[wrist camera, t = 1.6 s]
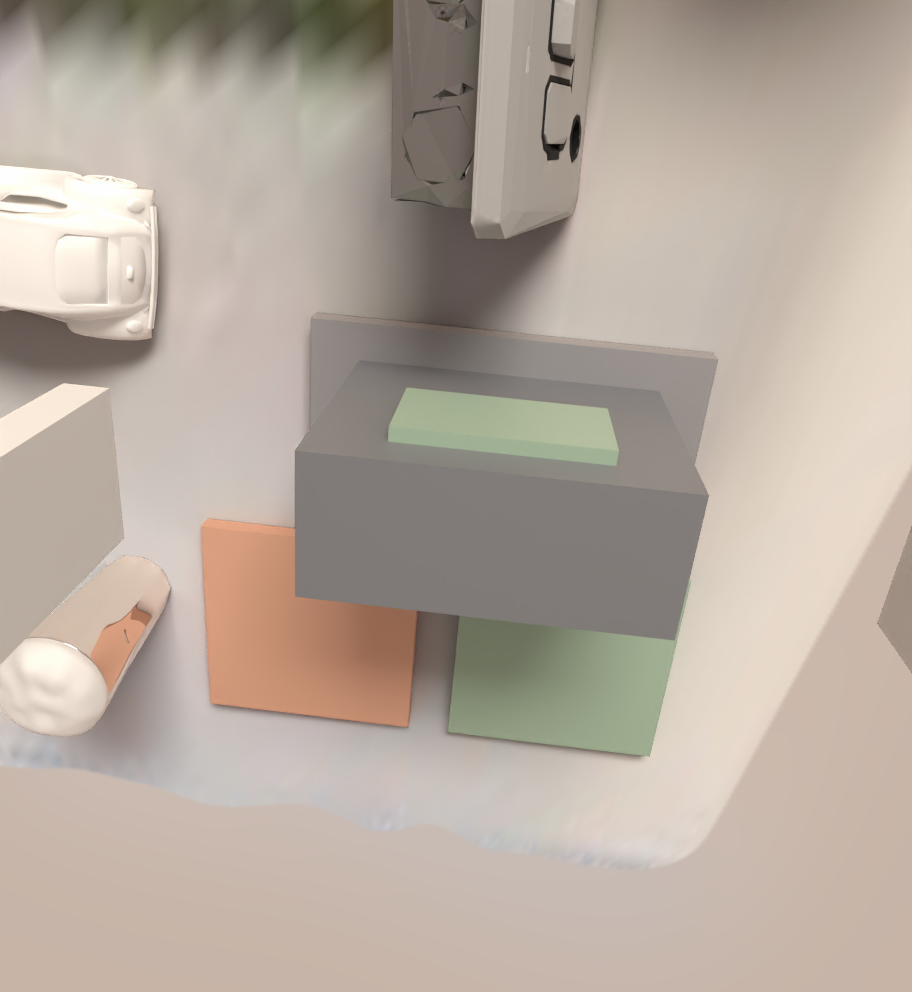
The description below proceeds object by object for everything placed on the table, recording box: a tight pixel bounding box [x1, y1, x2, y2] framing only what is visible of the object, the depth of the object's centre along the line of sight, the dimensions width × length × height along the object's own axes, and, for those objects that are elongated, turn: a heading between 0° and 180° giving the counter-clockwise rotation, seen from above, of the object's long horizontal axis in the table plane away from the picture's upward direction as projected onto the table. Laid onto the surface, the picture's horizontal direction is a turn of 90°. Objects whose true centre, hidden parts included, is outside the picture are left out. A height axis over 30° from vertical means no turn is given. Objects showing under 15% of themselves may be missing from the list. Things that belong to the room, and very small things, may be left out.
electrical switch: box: [391, 0, 598, 239], centre depth 25 cm, size 9×5×9 cm, turn 177°
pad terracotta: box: [201, 519, 418, 727], centre depth 39 cm, size 10×10×1 cm
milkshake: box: [0, 556, 171, 737], centre depth 35 cm, size 4×5×10 cm
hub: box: [295, 313, 718, 641], centre depth 30 cm, size 16×8×11 cm, turn 85°
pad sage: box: [448, 578, 691, 757], centre depth 39 cm, size 10×10×1 cm
